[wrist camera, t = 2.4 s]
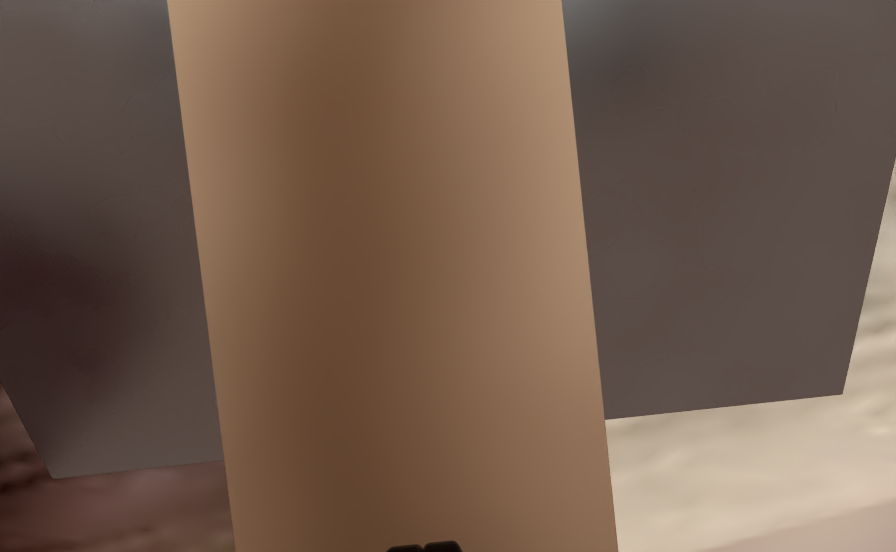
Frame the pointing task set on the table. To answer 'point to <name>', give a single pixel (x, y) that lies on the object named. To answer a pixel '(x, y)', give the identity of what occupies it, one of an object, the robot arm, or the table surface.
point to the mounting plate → (603, 198)
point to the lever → (395, 273)
